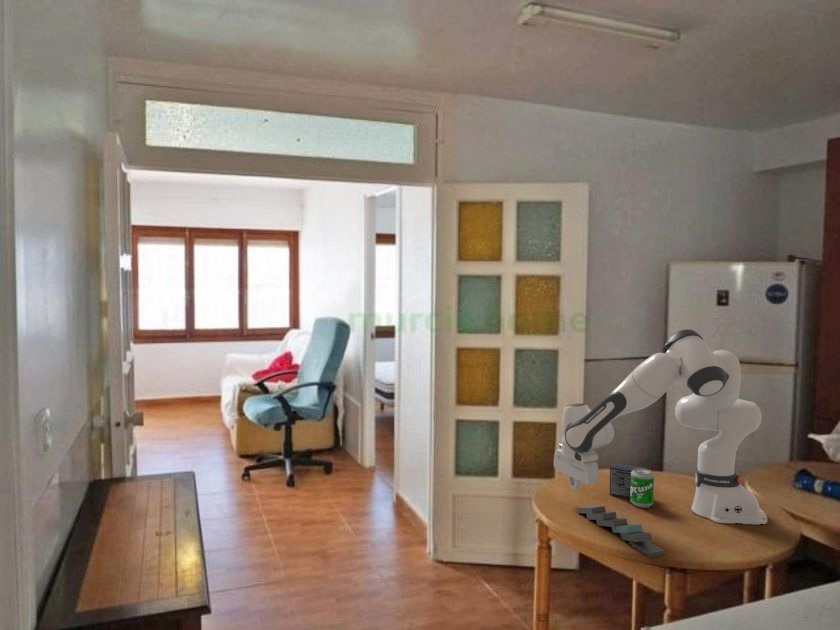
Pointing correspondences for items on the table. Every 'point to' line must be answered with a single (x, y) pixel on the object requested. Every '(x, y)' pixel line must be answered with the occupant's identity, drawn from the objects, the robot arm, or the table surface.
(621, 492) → the small box
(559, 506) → the table surface
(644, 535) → the domino
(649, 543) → the domino
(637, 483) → the soda can
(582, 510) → the domino
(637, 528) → the domino
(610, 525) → the domino
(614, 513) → the domino
